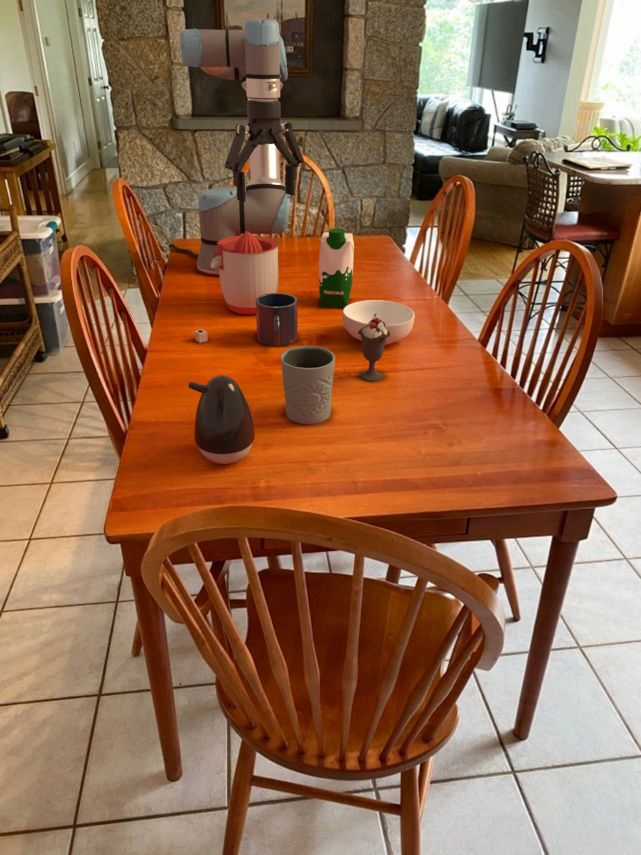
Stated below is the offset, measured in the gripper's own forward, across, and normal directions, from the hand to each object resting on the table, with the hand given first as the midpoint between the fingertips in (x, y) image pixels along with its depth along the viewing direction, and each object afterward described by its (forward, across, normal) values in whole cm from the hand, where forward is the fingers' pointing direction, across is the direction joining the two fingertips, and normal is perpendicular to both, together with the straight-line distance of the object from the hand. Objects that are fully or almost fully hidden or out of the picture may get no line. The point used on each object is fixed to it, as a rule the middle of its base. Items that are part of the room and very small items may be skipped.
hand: (266, 197), depth 160 cm
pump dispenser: (+29, -42, -55) cm, 75 cm away
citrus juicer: (+28, -4, +4) cm, 29 cm away
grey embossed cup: (+29, -22, -51) cm, 63 cm away
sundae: (+29, -2, -45) cm, 54 cm away
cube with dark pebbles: (+29, -24, -9) cm, 38 cm away
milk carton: (+28, +17, -6) cm, 34 cm away
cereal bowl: (+29, +12, -31) cm, 44 cm away
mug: (+29, -9, -19) cm, 35 cm away
